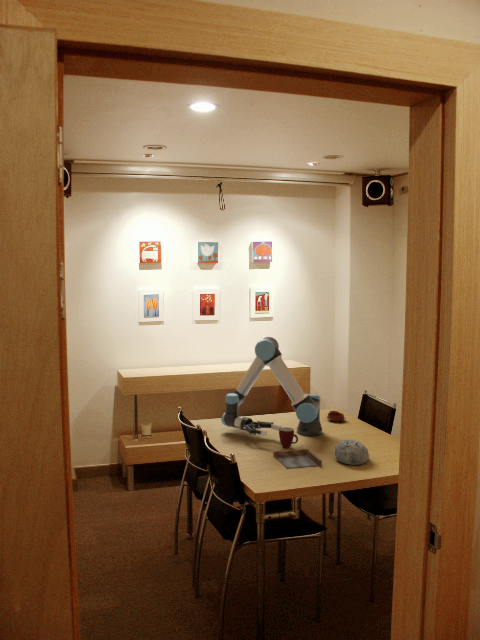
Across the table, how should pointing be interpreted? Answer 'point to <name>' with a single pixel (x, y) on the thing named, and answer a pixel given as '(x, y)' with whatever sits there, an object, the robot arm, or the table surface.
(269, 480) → the table surface
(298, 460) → the tray
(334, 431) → the table surface
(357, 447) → the decorative stone
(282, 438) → the mug
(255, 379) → the robot arm
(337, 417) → the pottery
